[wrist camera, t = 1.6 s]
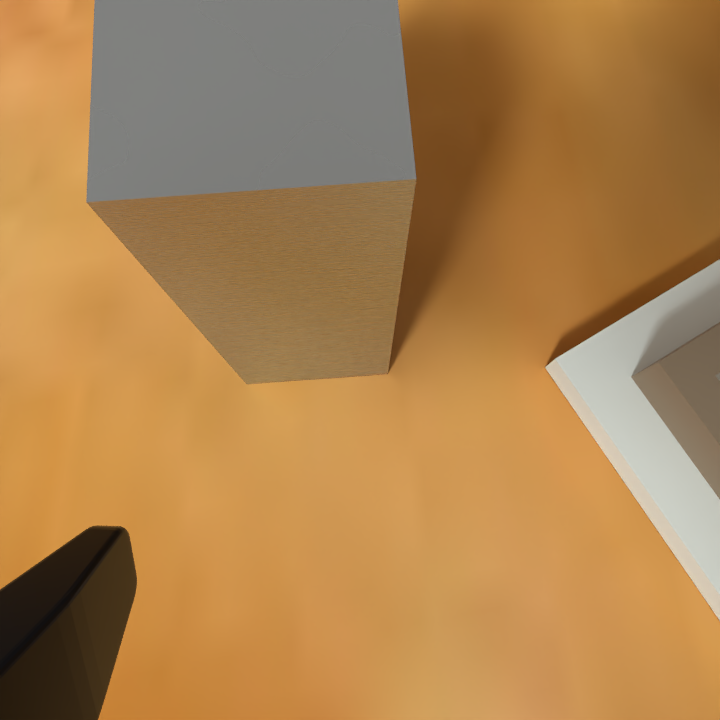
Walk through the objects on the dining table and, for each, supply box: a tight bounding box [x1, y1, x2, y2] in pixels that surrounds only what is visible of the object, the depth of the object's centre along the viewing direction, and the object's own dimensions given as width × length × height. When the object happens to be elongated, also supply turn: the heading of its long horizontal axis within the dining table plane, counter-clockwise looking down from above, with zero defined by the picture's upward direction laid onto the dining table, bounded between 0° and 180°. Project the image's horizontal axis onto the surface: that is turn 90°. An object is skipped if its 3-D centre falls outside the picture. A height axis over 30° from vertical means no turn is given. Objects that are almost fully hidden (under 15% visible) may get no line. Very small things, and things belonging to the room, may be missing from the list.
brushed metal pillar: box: [87, 0, 416, 384], centre depth 16 cm, size 5×5×13 cm
